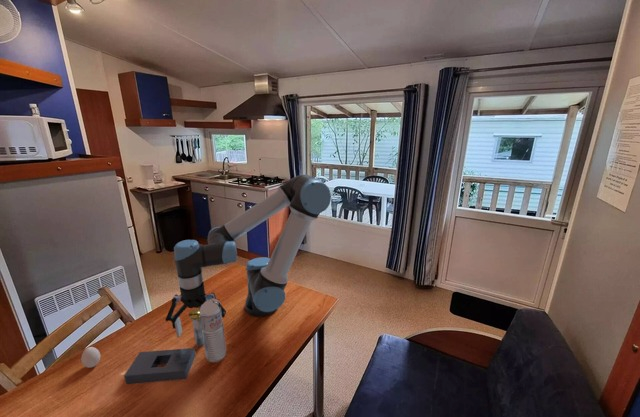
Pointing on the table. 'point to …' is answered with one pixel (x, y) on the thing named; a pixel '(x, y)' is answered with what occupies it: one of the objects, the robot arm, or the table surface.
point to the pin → (197, 327)
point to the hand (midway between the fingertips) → (199, 333)
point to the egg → (90, 357)
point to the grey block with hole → (149, 371)
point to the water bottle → (212, 329)
